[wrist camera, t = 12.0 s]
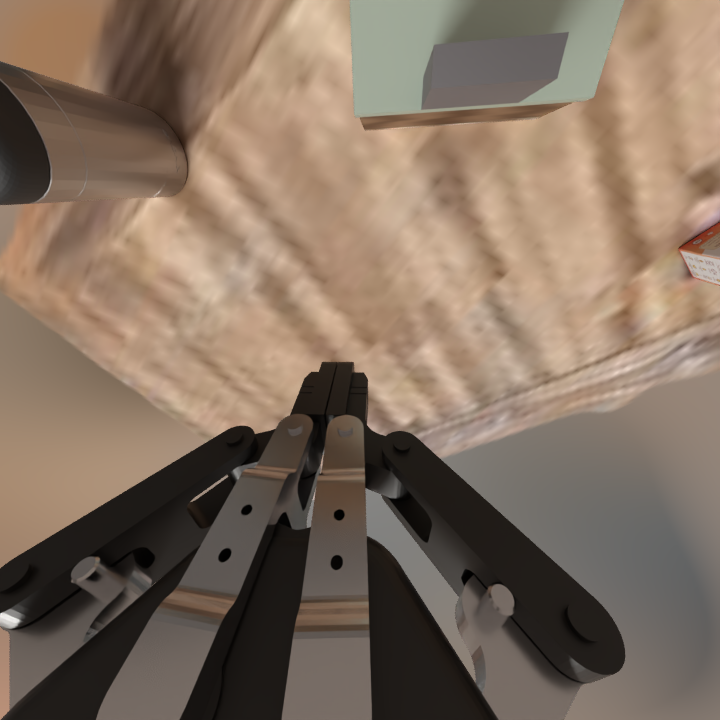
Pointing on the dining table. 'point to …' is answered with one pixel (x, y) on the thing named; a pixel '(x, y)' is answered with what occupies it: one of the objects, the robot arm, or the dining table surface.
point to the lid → (476, 53)
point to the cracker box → (704, 255)
